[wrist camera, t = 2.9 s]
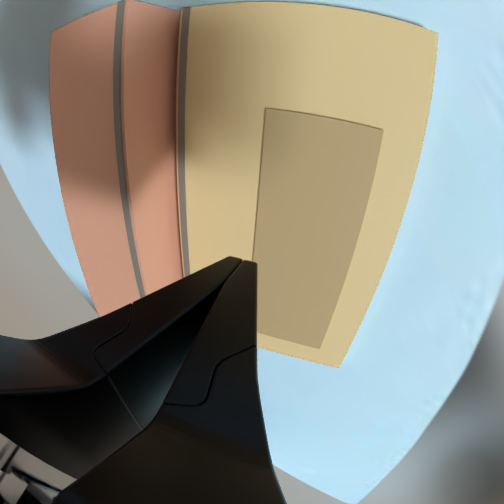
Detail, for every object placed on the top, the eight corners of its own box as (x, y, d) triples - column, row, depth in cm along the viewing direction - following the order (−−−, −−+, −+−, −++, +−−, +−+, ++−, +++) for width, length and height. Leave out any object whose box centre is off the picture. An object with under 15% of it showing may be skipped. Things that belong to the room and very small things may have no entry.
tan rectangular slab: (339, 360, 17) (338, 369, 16) (193, 318, 19) (188, 325, 18) (434, 35, 6) (438, 32, 6) (188, 10, 9) (179, 8, 8)
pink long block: (188, 316, 19) (161, 355, 16) (130, 295, 20) (101, 327, 17) (180, 12, 9) (126, -2, 6) (102, 31, 10) (49, 32, 7)
